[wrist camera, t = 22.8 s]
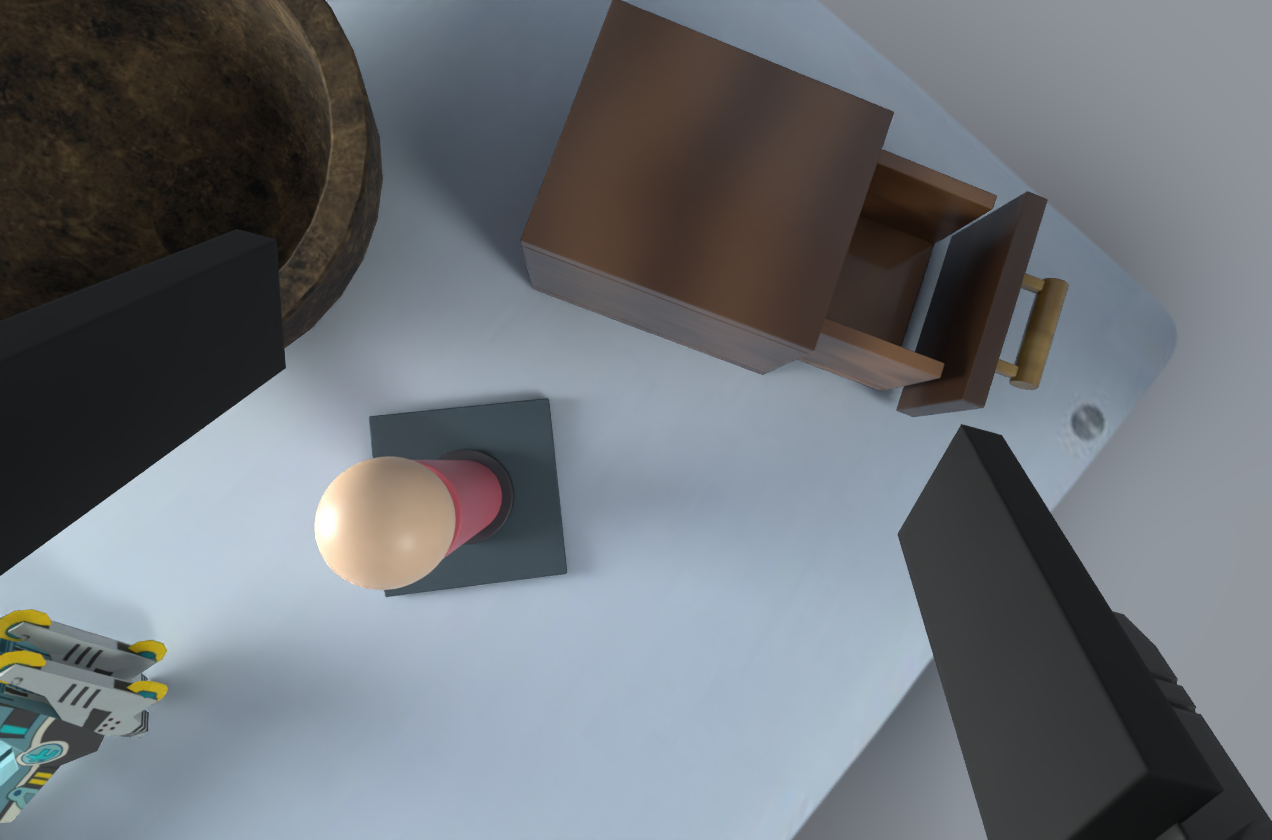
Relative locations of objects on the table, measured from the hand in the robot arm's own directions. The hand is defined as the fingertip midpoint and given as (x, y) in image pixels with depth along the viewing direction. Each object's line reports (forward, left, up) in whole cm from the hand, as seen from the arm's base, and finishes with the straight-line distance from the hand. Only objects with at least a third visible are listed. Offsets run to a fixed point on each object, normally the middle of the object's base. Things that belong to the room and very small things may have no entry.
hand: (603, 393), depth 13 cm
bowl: (+14, +19, -26) cm, 35 cm away
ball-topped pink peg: (-3, +7, -25) cm, 26 cm away
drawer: (+6, -18, -25) cm, 31 cm away
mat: (-3, +7, -26) cm, 27 cm away
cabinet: (+11, -7, -26) cm, 29 cm away
